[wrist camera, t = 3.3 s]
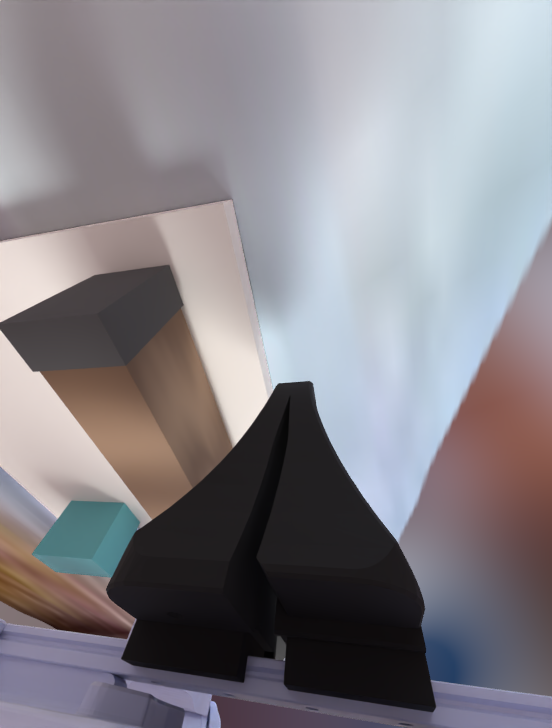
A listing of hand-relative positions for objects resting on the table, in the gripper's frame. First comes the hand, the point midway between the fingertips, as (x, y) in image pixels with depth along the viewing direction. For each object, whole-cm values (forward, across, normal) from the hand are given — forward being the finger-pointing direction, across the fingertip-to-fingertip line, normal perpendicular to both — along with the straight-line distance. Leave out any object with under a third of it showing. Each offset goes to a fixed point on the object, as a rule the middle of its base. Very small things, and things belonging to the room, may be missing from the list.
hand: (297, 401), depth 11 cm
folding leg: (+2, +6, +3) cm, 7 cm away
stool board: (+3, +13, +4) cm, 14 cm away
